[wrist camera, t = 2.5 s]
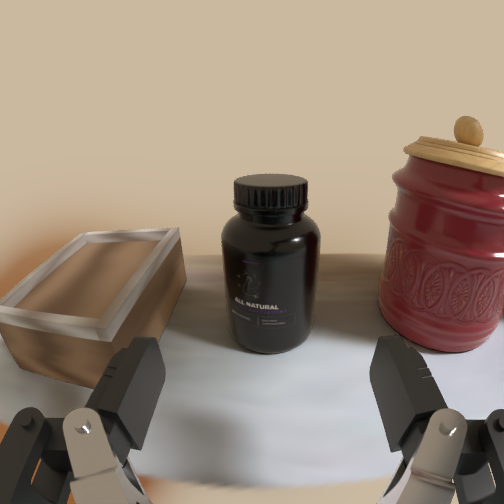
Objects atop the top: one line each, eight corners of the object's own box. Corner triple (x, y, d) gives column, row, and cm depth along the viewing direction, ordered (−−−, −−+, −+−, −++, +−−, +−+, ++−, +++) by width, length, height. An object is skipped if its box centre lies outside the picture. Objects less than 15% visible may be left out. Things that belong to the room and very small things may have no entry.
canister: (354, 327, 23) (373, 97, 16) (394, 267, 32) (408, 112, 25) (492, 372, 15) (561, 133, 8) (492, 295, 24) (523, 134, 17)
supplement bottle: (238, 365, 20) (223, 195, 15) (223, 312, 26) (210, 175, 21) (327, 345, 21) (342, 185, 16) (296, 299, 27) (298, 168, 23)
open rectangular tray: (186, 280, 32) (178, 227, 29) (135, 396, 17) (105, 328, 15) (94, 278, 32) (82, 232, 30) (19, 367, 18) (-11, 309, 15)
